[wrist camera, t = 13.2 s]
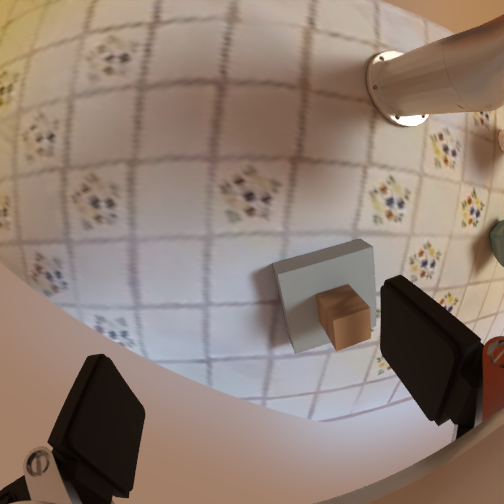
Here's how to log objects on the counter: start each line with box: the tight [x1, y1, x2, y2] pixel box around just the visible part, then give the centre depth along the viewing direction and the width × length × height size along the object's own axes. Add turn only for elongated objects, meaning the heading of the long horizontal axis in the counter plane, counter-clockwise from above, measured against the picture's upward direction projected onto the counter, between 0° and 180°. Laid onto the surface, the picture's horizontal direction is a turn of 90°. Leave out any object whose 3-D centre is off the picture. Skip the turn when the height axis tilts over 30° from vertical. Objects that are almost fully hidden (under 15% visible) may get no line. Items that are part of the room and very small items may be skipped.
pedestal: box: [272, 239, 376, 354], centre depth 41 cm, size 14×14×4 cm
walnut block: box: [316, 284, 371, 351], centre depth 36 cm, size 5×5×7 cm
